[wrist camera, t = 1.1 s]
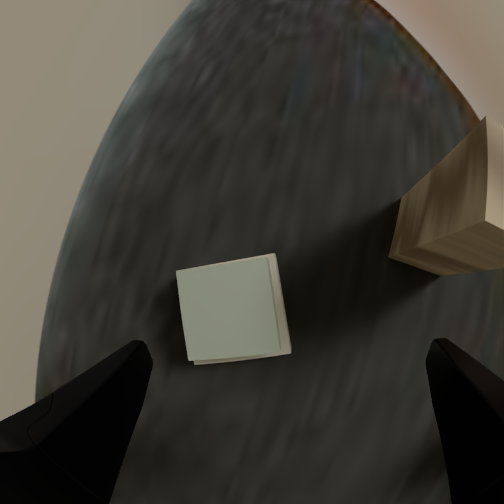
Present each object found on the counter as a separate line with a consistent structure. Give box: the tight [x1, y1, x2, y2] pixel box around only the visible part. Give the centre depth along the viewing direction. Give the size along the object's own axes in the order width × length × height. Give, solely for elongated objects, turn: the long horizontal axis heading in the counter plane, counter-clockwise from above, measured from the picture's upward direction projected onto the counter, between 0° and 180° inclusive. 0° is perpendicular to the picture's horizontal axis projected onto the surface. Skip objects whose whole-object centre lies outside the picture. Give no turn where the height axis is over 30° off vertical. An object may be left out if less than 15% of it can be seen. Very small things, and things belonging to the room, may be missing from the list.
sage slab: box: [176, 257, 282, 361], centre depth 19 cm, size 6×6×2 cm
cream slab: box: [184, 253, 291, 365], centre depth 22 cm, size 7×7×2 cm
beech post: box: [388, 116, 504, 276], centre depth 14 cm, size 5×5×13 cm
